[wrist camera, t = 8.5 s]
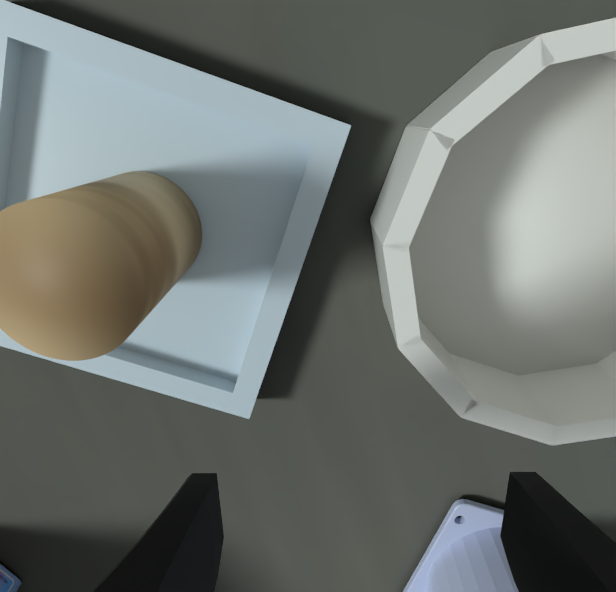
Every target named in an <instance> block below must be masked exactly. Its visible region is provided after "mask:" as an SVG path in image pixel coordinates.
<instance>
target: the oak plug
mask: <svg viewBox="0 0 616 592" xmlns="http://www.w3.org/2000/svg"><path fill="white" fill-rule="evenodd" d="M201 242H202V226H201V221H200V217H199V215H198V212H197V210H196V208H195V206H194V204H193V202H192V201H191V199H190V198H189V197H188V195H187V194H186V193H185V192H184V191H183V190H182V189H181V188H180V187H179V186H178V185H176V184H175V183H173V182H172V181H170V180H169V179H167V178H165V177H163V176H160V175H158V174H154V173H150V172H144V171H132V172H126V173H122V174H119V175H115V176H112V177H108V178H105V179H101V180H98V181H94V182H90V183H87V184H83V185H80V186H76V187H73V188H69V189H66V190H62V191H59V192H55V193H52V194H48V195H45V196H41V197H37V198H34V199H30V200H27V201H23V202H20V203H17V204H13V205H11V206H9V207H7V208H5V209H3V210H2V211H0V329H1V330H2V331H4V332H5V333H6V334H7V335H8V336H9V337H10V338H12V339H13V340H14V341H16V342H17V343H19V344H20V345H22V346H24V347H25V348H27V349H29V350H31V351H33V352H35V353H38V354H40V355H43V356H46V357H50V358H54V359H58V360H67V361H81V360H89V359H93V358H97V357H100V356H102V355H105V354H107V353H109V352H111V351H113V350H114V349H116V348H117V347H118V346H120V345H121V344H122V343H123V342H124V341H125V340H126V339H127V338H128V337H129V336H130V335H131V334H132V332H133V331H134V330H135V329H136V328H137V327H138V326H139V325H140V323H141V322H142V321H143V320H144V319H145V318H146V317H147V316H148V314H149V313H150V312H151V311H152V310H153V309H154V308H155V306H156V305H157V304H158V303H159V302H160V301H161V300H162V299H163V297H164V296H165V295H166V294H167V293H168V292H169V291H170V290H171V288H172V287H173V286H174V285H175V284H176V283H177V282H178V281H179V279H180V278H181V277H182V276H183V275H184V274H185V273H186V271H187V270H188V269H189V268H190V267H191V266H192V264H193V263H194V262H195V260H196V258H197V256H198V254H199V251H200V248H201Z"/></svg>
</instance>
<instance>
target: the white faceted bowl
mask: <svg viewBox="0 0 616 592" xmlns="http://www.w3.org/2000/svg"><path fill="white" fill-rule="evenodd" d="M370 223H371V230H372V236H373V242H374V249H375V255H376V261H377V268H378V274H379V280H380V287H381V293H382V299H383V305H384V308H385V311H386V314H387V317H388V320H389V323H390V326H391V329H392V332H393V335H394V338H395V341H396V344H397V347H398V349H399V350H400V351H401V352H402V353H403V354H404V355H405V357H406V358H407V359H408V360H409V361H410V362H411V363H412V364H413V365H414V367H415V368H416V369H417V370H418V371H419V372H420V373H421V374H422V375H423V377H424V378H425V379H426V380H427V381H428V382H429V383H430V384H431V385H432V386H433V388H434V389H435V390H436V391H437V392H438V393H439V394H440V395H441V396H442V398H443V399H444V400H445V401H446V402H447V403H448V404H449V405H450V406H451V407H452V409H453V410H454V411H455V412H456V413H457V414H458V415H459V416H460V417H461V418H464V419H467V420H471V421H474V422H477V423H480V424H484V425H487V426H490V427H493V428H497V429H500V430H503V431H506V432H510V433H513V434H516V435H519V436H523V437H526V438H529V439H532V440H536V441H539V442H542V443H545V444H549V445H559V444H566V443H573V442H580V441H587V440H594V439H601V438H608V437H614V436H616V18H612V19H608V20H603V21H599V22H594V23H589V24H585V25H580V26H576V27H571V28H567V29H562V30H558V31H553V32H549V33H544V34H540V35H537V36H534V37H532V38H529V39H526V40H523V41H520V42H518V43H515V44H512V45H509V46H507V47H504V48H501V49H498V50H495V51H493V52H490V53H489V54H488V55H487V56H485V57H484V58H483V59H482V60H481V61H480V62H479V63H477V64H476V65H475V66H474V67H473V68H472V69H471V70H469V71H468V72H467V73H466V74H465V75H464V76H463V77H461V78H460V79H459V80H458V81H457V82H456V83H455V84H453V85H452V86H451V87H450V88H449V89H448V90H447V91H445V92H444V93H443V94H442V95H441V96H440V97H439V98H437V99H436V100H435V101H434V102H433V103H432V104H431V105H429V106H428V107H427V108H426V109H425V110H424V111H423V112H421V113H420V114H419V115H418V116H417V117H416V118H415V119H413V120H412V121H411V122H410V123H409V124H408V125H407V127H406V128H405V130H404V133H403V135H402V138H401V141H400V143H399V146H398V148H397V151H396V153H395V156H394V159H393V161H392V164H391V166H390V169H389V172H388V174H387V177H386V179H385V182H384V185H383V187H382V190H381V192H380V195H379V197H378V200H377V203H376V205H375V208H374V210H373V213H372V216H371V218H370Z"/></svg>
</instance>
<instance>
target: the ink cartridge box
mask: <svg viewBox="0 0 616 592" xmlns="http://www.w3.org/2000/svg"><path fill="white" fill-rule="evenodd" d="M20 585H21V581H20V579H18V578H17V577H16V576H15V575H14V574H12V573H11V572H10V571H9V570H7V569H6V568H5V567H4V566H3V565H1V564H0V592H17V590H18V588H19V587H20Z"/></svg>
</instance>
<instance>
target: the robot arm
mask: <svg viewBox="0 0 616 592" xmlns="http://www.w3.org/2000/svg"><path fill="white" fill-rule="evenodd" d="M457 516H461V517H459V518H456V517H457ZM223 538H224V535H223V526H222V517H221V508H220V499H219V490H218V482H217V473H192V474H191V475H190V476H189V477H188V478H187V480H186V481H185V482H184V484H183V485H182V486H181V488H180V489H179V490H178V492H177V493H176V494H175V496H174V497H173V498H172V500H171V501H170V502H169V504H168V505H167V506H166V508H165V509H164V510H163V511H162V513H161V514H160V515H159V517H158V518H157V519H156V520H155V521H154V523H153V524H152V525H151V526H150V527H149V529H148V530H147V531H146V532H145V534H144V535H143V536H142V537H141V538H140V540H139V541H138V542H137V543H136V544H135V545H134V547H133V548H132V549H131V550H130V551H129V552H128V553H127V554H126V556H125V557H124V558H123V559H122V560H121V561H120V562H119V563H118V564H117V565H116V567H115V568H114V569H113V570H112V571H111V572H110V573H109V574H108V575H107V576H106V577H105V578H104V580H103V581H102V582H101V583H100V584H99V585H98V586H97V587H96V588H95V589H94V590H93V591H92V592H214V589H215V585H216V581H217V576H218V570H219V564H220V557H221V551H222V544H223ZM403 592H616V543H615V542H614V541H613V540H612V539H610V538H609V537H608V536H607V535H606V534H605V533H603V532H602V531H601V530H600V529H599V528H598V527H596V526H595V525H594V524H593V523H592V522H591V521H590V520H588V519H587V518H586V517H585V516H584V515H583V514H582V513H581V512H579V511H578V510H577V509H576V508H575V507H574V506H573V505H572V504H571V503H569V502H568V501H567V500H566V499H565V498H564V497H563V496H562V495H561V494H560V493H558V492H557V491H556V490H555V489H554V488H553V487H552V486H551V485H550V484H548V483H547V482H546V481H545V480H544V479H543V478H542V477H541V476H539V475H538V474H537V473H536V472H510V475H509V482H508V488H507V495H506V501H505V508H504V510H501V509H498V508H495V507H491V506H488V505H484V504H481V503H477V502H474V501H470V500H467V499H459V500H457V501H455V502H454V503H453V505H452V506H451V508H450V510H449V512H448V513H447V515H446V517H445V519H444V520H443V522H442V524H441V526H440V527H439V529H438V531H437V533H436V534H435V536H434V538H433V540H432V541H431V543H430V545H429V547H428V548H427V550H426V552H425V554H424V555H423V557H422V559H421V561H420V562H419V564H418V566H417V568H416V569H415V571H414V573H413V575H412V576H411V578H410V580H409V582H408V583H407V585H406V587H405V589H404V590H403Z"/></svg>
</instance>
